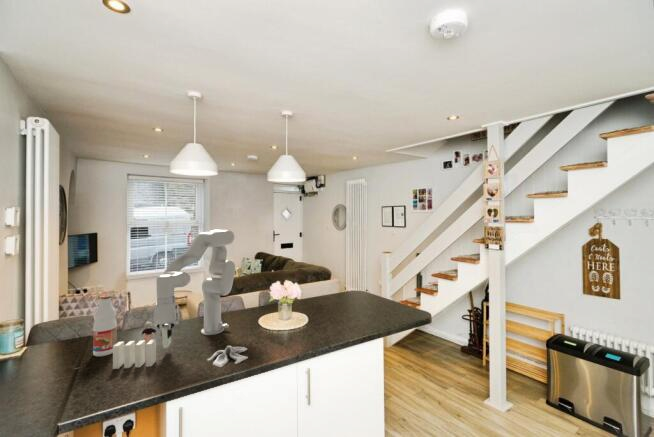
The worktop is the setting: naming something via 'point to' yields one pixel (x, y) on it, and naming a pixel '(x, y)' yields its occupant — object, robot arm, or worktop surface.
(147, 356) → the domino
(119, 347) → the domino
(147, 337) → the grandmother figurine
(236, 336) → the worktop surface
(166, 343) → the domino
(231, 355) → the cloth
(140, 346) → the domino
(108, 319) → the fruit juice
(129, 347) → the domino
